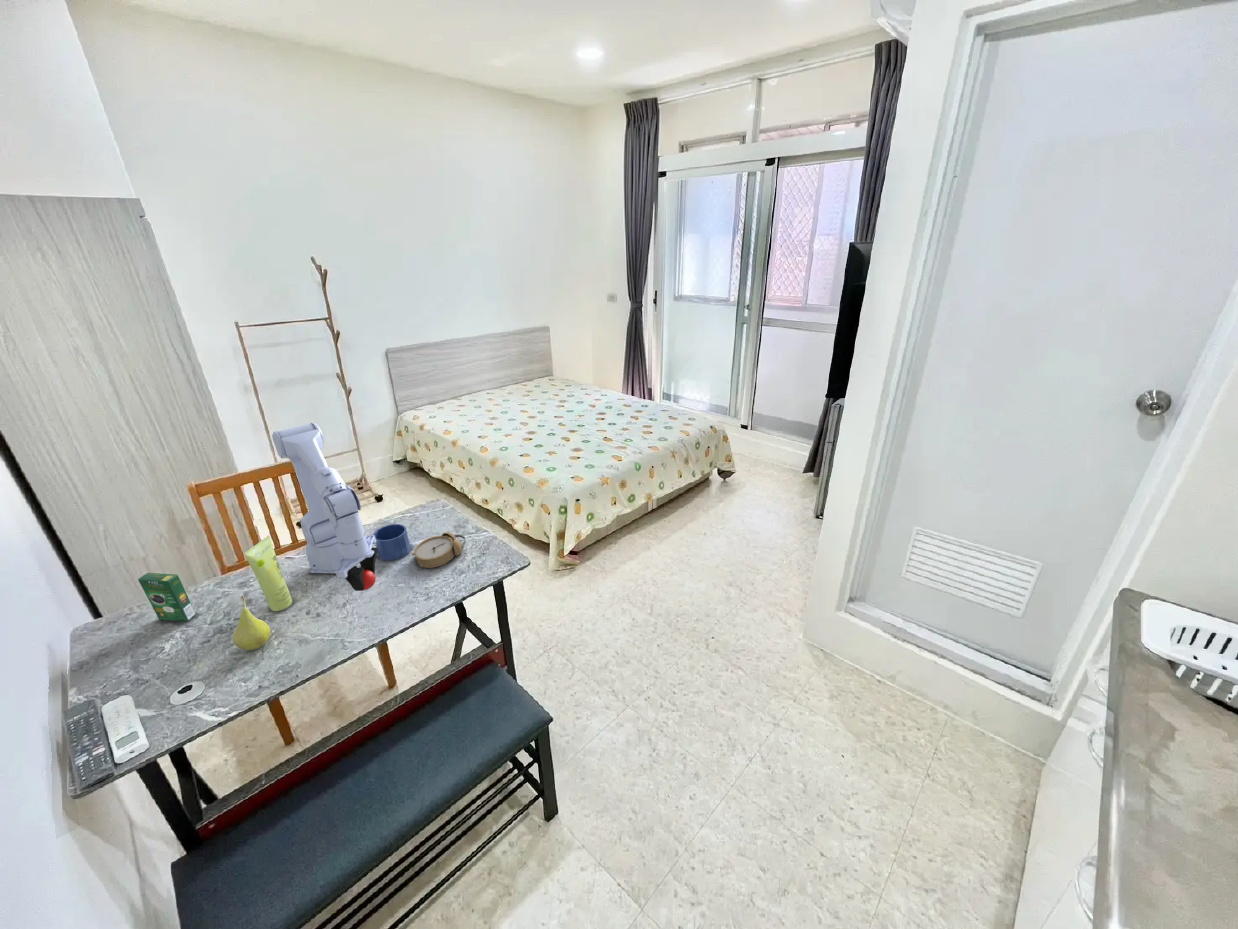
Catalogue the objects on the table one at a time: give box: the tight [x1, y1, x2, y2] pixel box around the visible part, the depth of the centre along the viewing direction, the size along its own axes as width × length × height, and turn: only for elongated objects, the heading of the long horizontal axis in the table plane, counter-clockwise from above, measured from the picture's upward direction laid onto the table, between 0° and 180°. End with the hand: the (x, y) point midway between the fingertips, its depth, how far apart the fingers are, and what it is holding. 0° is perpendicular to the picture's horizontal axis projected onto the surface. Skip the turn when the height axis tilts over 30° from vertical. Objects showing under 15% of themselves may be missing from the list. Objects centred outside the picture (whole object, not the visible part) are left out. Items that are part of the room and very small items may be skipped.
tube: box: [244, 534, 293, 612], centre depth 121 cm, size 6×5×20 cm
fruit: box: [232, 595, 271, 651], centre depth 111 cm, size 7×8×12 cm
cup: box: [372, 523, 411, 562], centre depth 145 cm, size 9×9×7 cm
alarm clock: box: [411, 531, 467, 569], centre depth 144 cm, size 11×5×15 cm
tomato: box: [360, 566, 376, 591], centre depth 120 cm, size 5×5×6 cm
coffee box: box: [137, 572, 197, 623], centre depth 119 cm, size 8×3×13 cm, turn 86°
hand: (364, 582), depth 120 cm, fingers closed on tomato, 5 cm apart
